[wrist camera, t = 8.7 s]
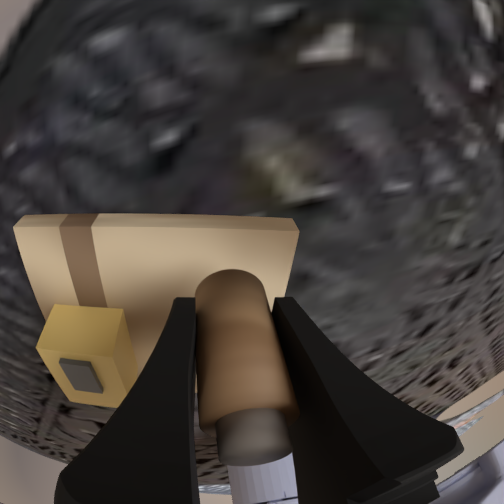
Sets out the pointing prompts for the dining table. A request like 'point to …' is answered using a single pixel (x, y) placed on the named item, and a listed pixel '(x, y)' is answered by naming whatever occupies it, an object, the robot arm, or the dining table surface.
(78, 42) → the dining table surface
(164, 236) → the plywood panel
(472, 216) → the dining table surface
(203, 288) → the brown gray-topped cylinder
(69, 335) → the stud finder
